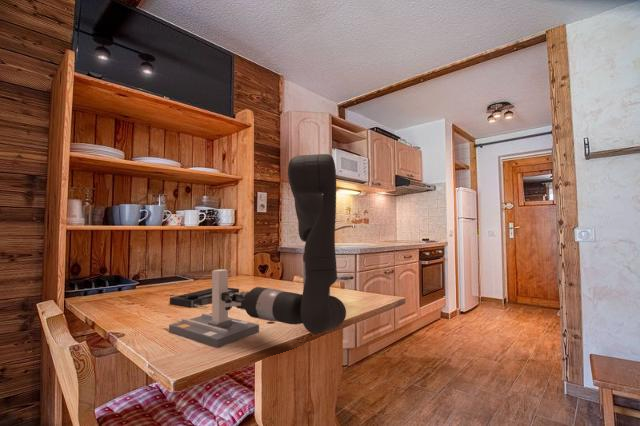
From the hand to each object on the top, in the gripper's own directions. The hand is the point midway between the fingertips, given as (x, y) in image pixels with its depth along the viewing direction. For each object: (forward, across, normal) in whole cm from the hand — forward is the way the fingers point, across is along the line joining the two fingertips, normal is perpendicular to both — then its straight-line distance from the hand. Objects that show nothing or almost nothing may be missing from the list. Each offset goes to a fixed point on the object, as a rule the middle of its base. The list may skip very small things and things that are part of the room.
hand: (223, 296), depth 86 cm
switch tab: (+2, 0, +8) cm, 9 cm away
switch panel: (+4, 0, +10) cm, 11 cm away
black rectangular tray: (+39, -25, +11) cm, 47 cm away
